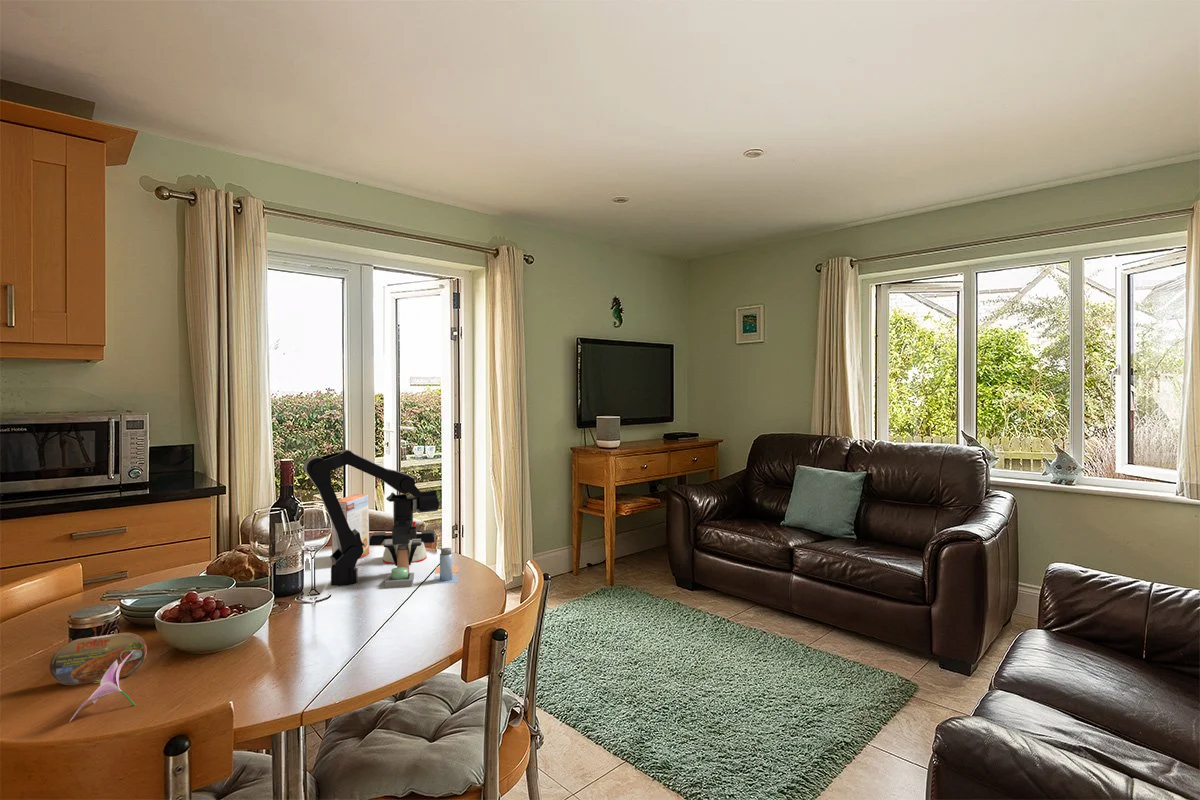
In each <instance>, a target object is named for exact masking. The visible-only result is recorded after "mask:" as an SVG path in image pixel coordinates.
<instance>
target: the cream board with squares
mask: <svg viewBox="0 0 1200 800" xmlns="http://www.w3.org/2000/svg"><path fill="white" fill-rule="evenodd" d="M453 573H459V565H452V574H453ZM434 574H435V576H434V579H433V584H434V585H435V584H453V583H459V582H458V581H459V579H458V578H459V575H458V574H456V575H454V574H453V575H452V580H450V581H440V575H439V576H438V575H437V576H436V574H440V566H435V573H434ZM414 580H415V572H409V573H408V579H406V580H391V573H388V574H387V575H386V578H385V579H384V589H394V588H409V587H413V584H414Z"/></svg>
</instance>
